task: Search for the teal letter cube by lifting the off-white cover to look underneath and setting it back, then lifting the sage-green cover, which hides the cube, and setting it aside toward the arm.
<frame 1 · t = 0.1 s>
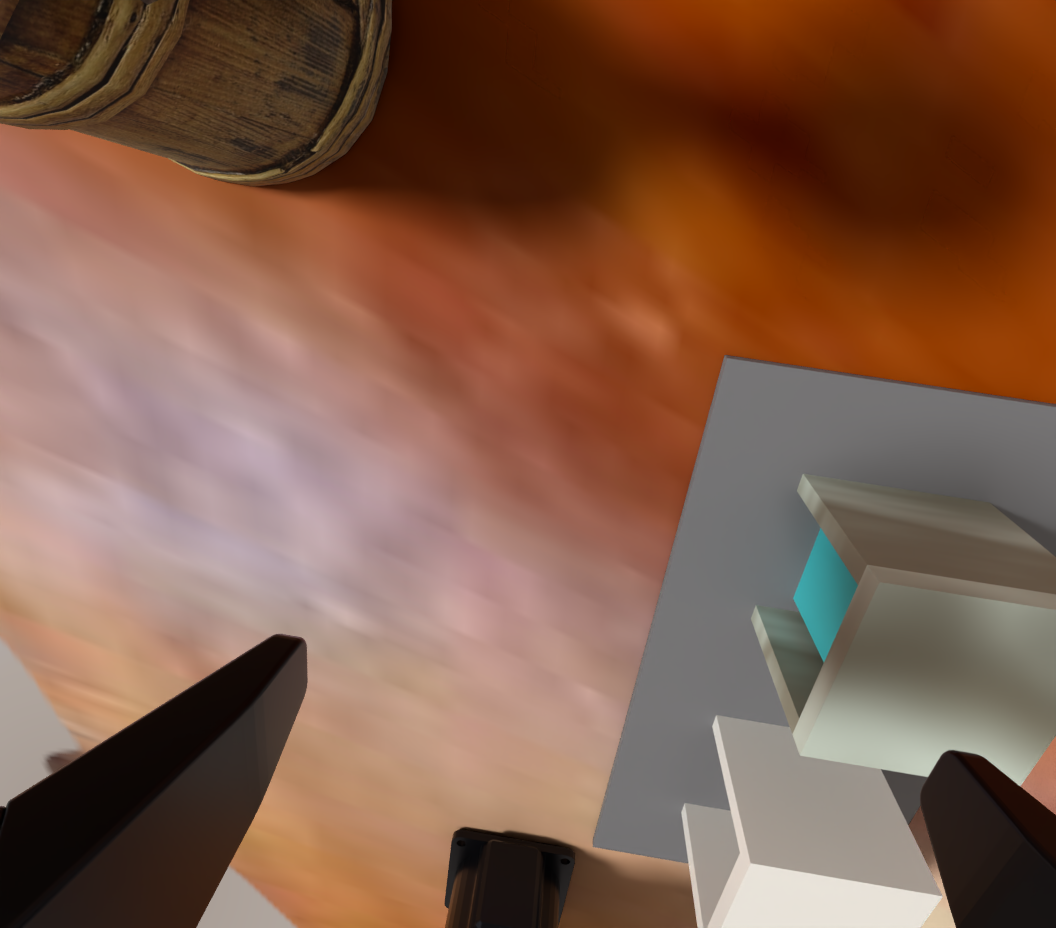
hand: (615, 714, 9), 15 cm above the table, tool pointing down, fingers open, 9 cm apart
cover a: (769, 778, 29), resting on mat
cube: (886, 598, 22), on the mat
mat: (808, 675, 26), on the table
cover b: (901, 620, 20), on the mat
wooden mug: (318, 17, 18), on the table
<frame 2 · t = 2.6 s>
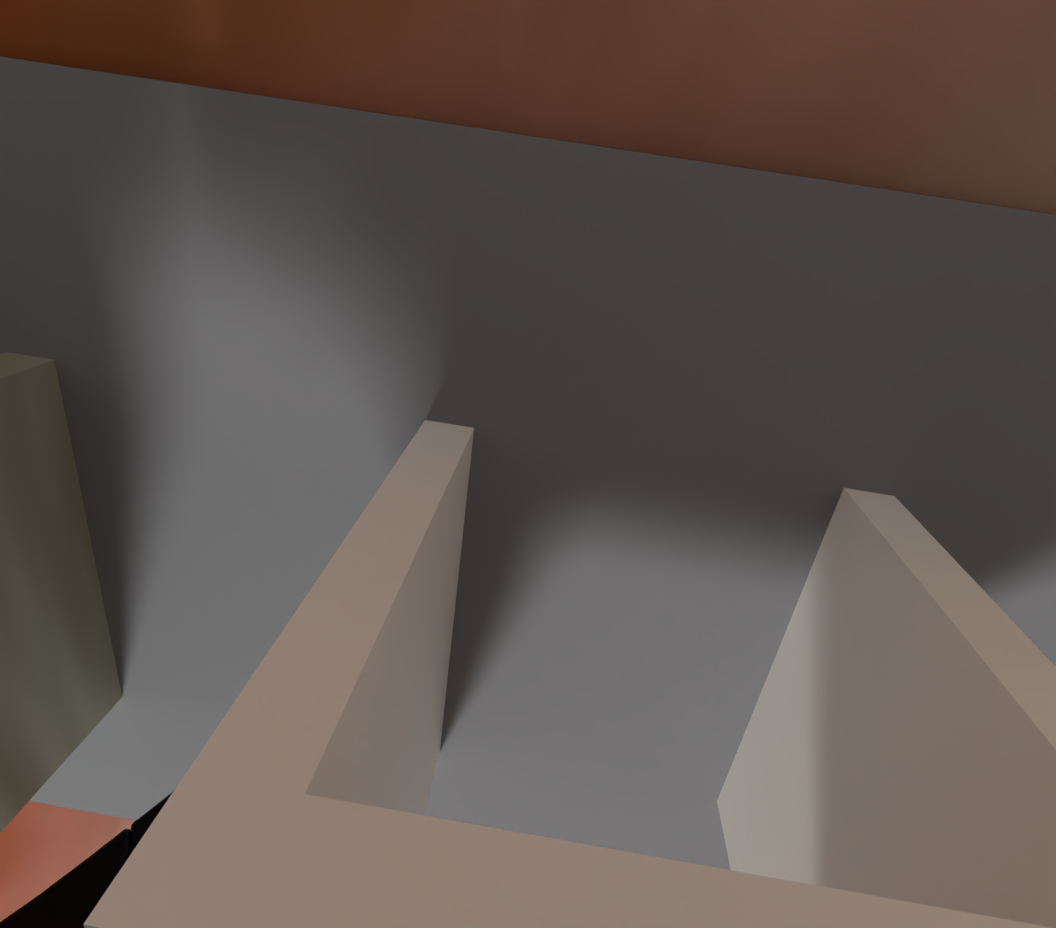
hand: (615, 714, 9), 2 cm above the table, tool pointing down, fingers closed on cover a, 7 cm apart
cover a: (611, 639, 10), resting on mat, touching gripper
mat: (263, 564, 11), on the table
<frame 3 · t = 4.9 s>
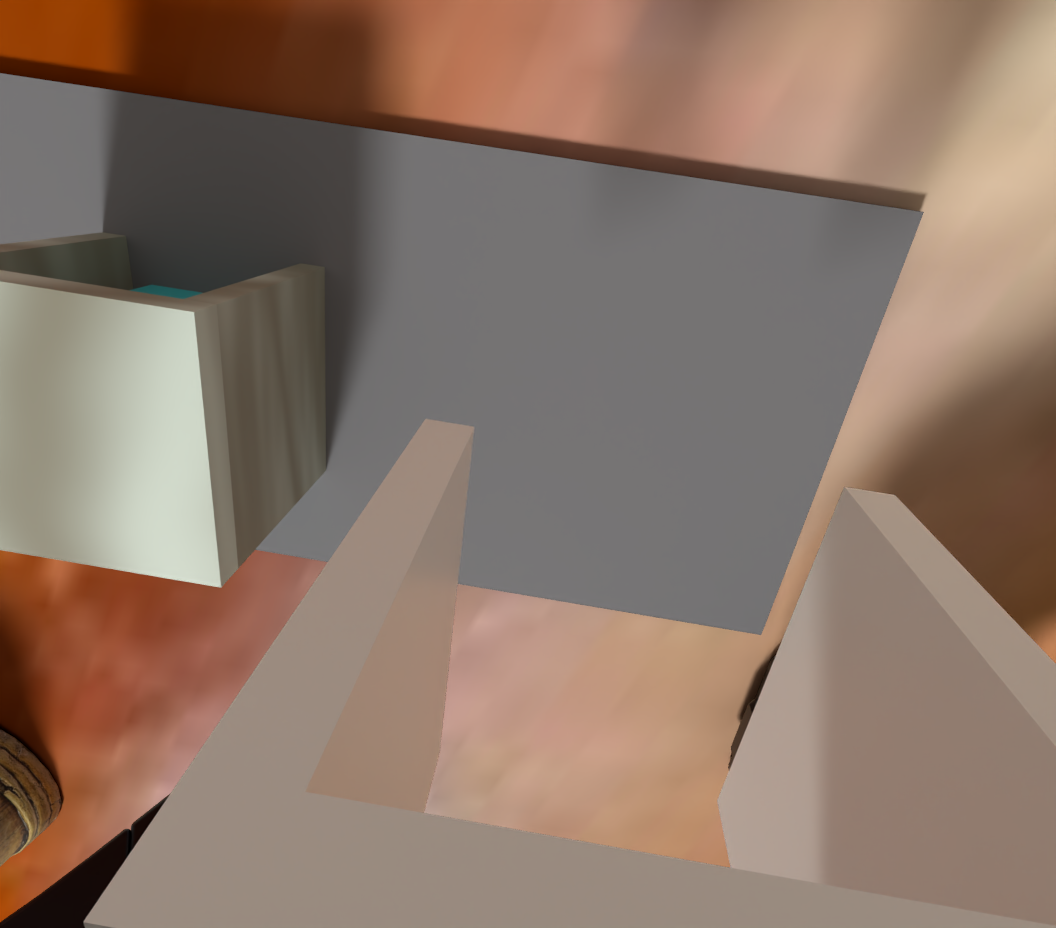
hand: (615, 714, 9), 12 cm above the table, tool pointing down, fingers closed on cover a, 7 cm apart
cover a: (612, 638, 10), point 10 cm above the table, touching gripper
cube: (181, 379, 17), on the mat
mat: (413, 385, 20), on the table
cover b: (156, 392, 16), on the mat
when the fingers open (3 cm above the table, at t = 7.1 s): cover a drops 1 cm, resting on mat.
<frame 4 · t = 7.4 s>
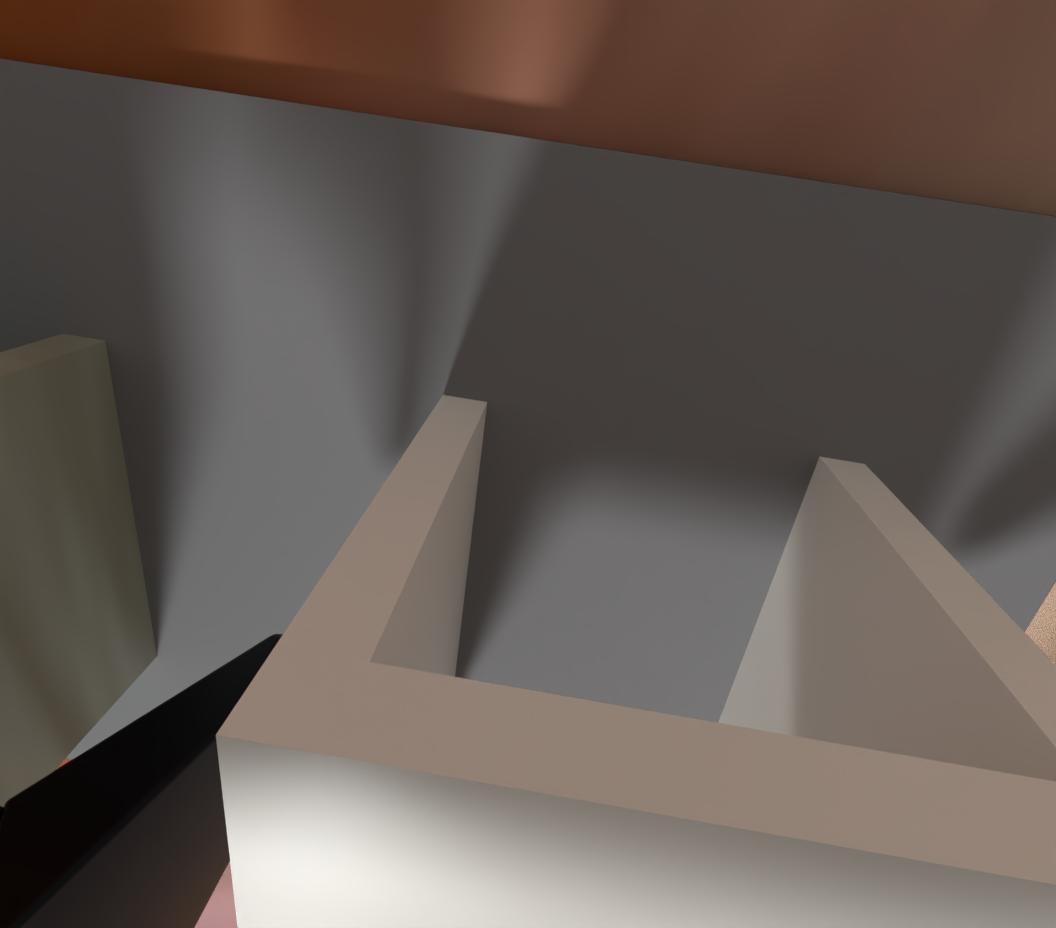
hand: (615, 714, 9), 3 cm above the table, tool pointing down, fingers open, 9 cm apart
cover a: (610, 598, 11), resting on mat
mat: (289, 531, 12), on the table
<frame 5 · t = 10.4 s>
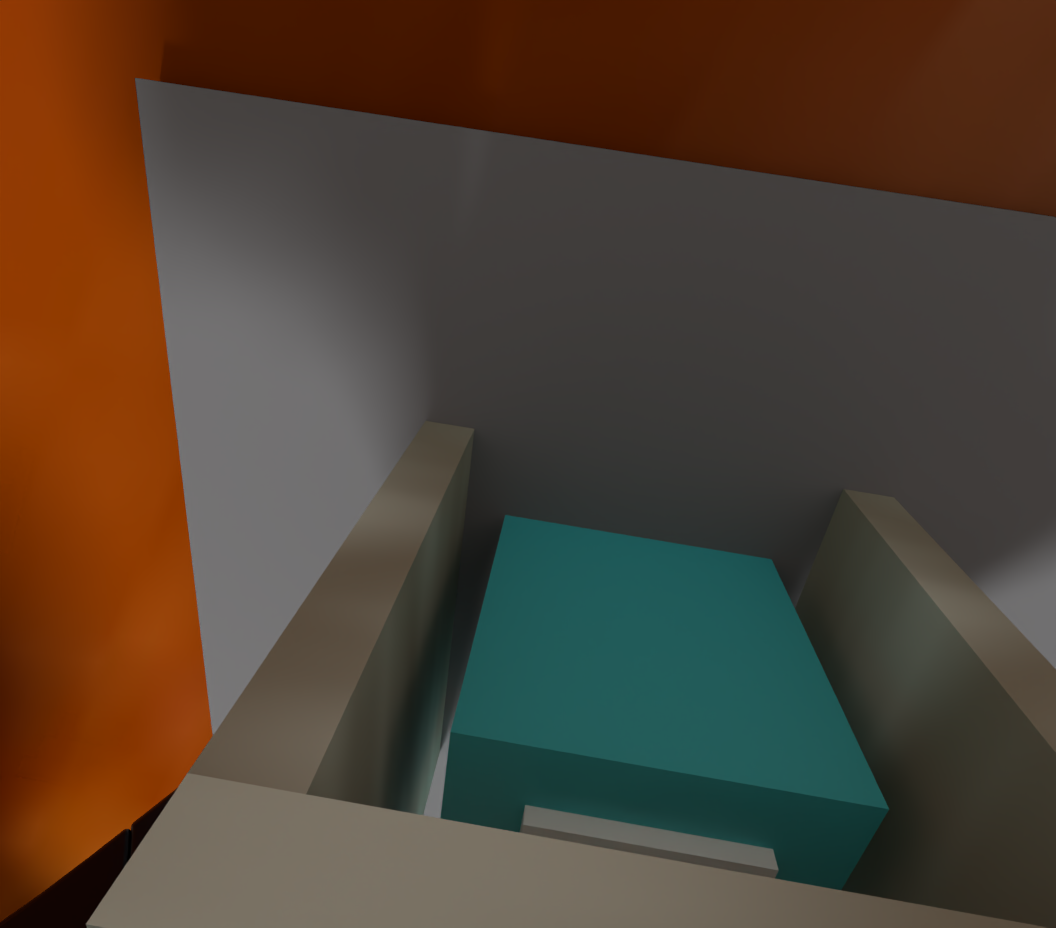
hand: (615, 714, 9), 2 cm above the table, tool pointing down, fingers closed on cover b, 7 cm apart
cube: (616, 748, 8), on the mat
mat: (968, 685, 10), on the table
cover b: (620, 831, 7), on the mat, touching gripper
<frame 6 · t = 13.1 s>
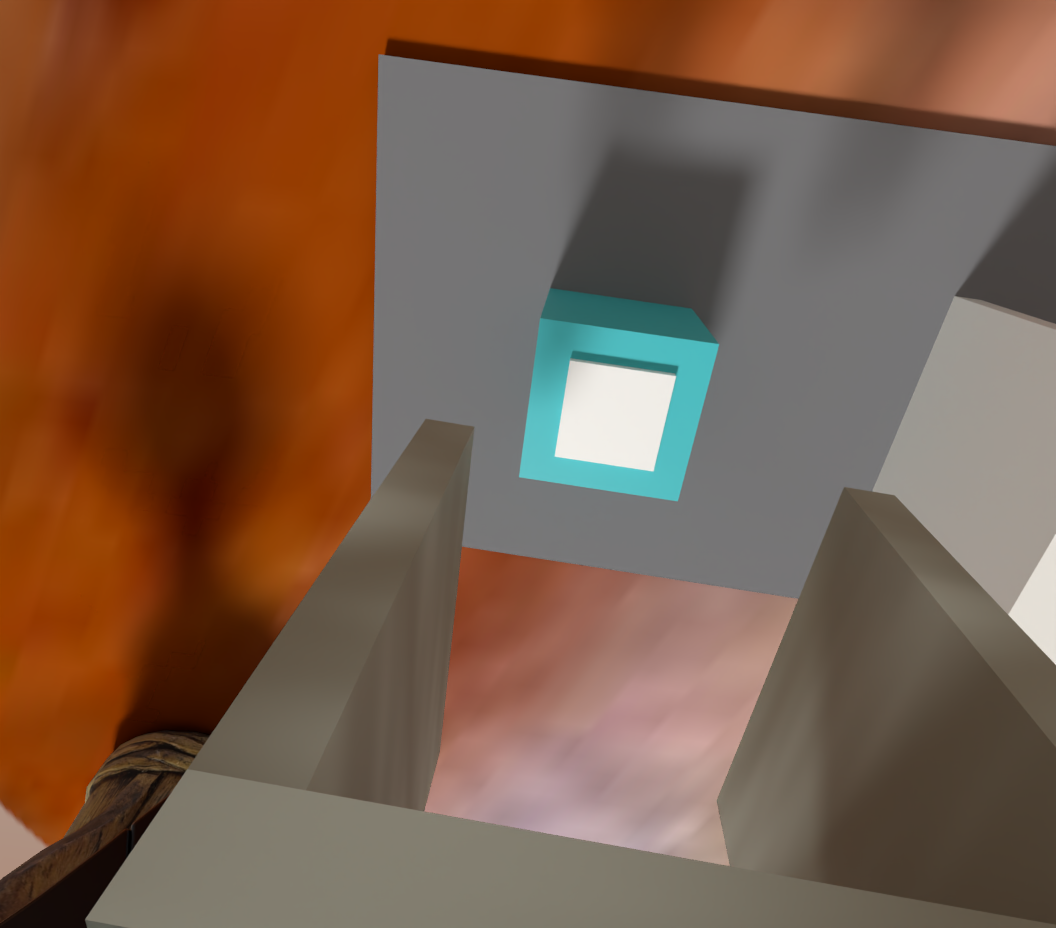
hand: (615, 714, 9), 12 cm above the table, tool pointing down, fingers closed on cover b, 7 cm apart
cover a: (1020, 428, 18), resting on mat
cube: (610, 389, 16), on the mat
mat: (807, 392, 18), on the table
cover b: (620, 829, 7), point 14 cm above the table, touching gripper
wooden mug: (198, 757, 28), on the table
when the fingers open (3 cm above the table, at t = 16.1 s): cover b drops 1 cm, on the table.
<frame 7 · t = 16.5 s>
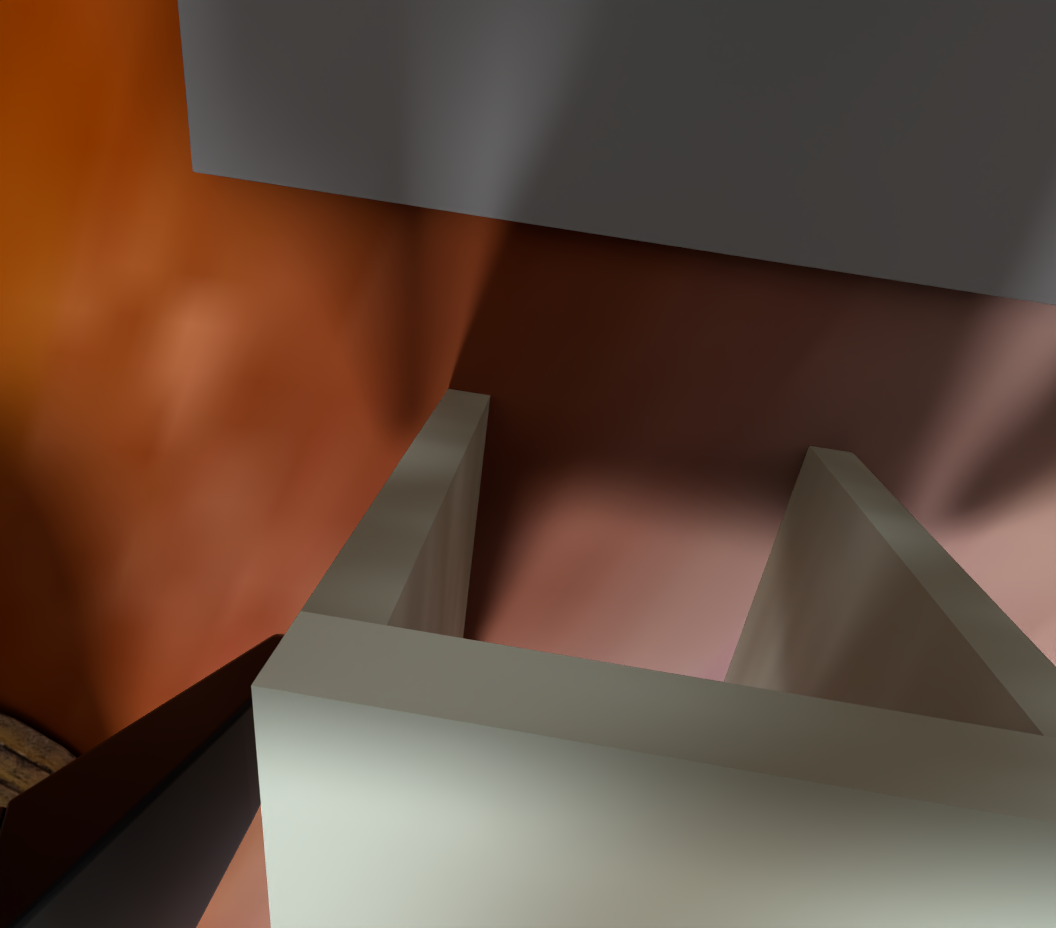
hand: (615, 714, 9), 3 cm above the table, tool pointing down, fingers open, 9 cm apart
cover b: (617, 726, 8), on the table
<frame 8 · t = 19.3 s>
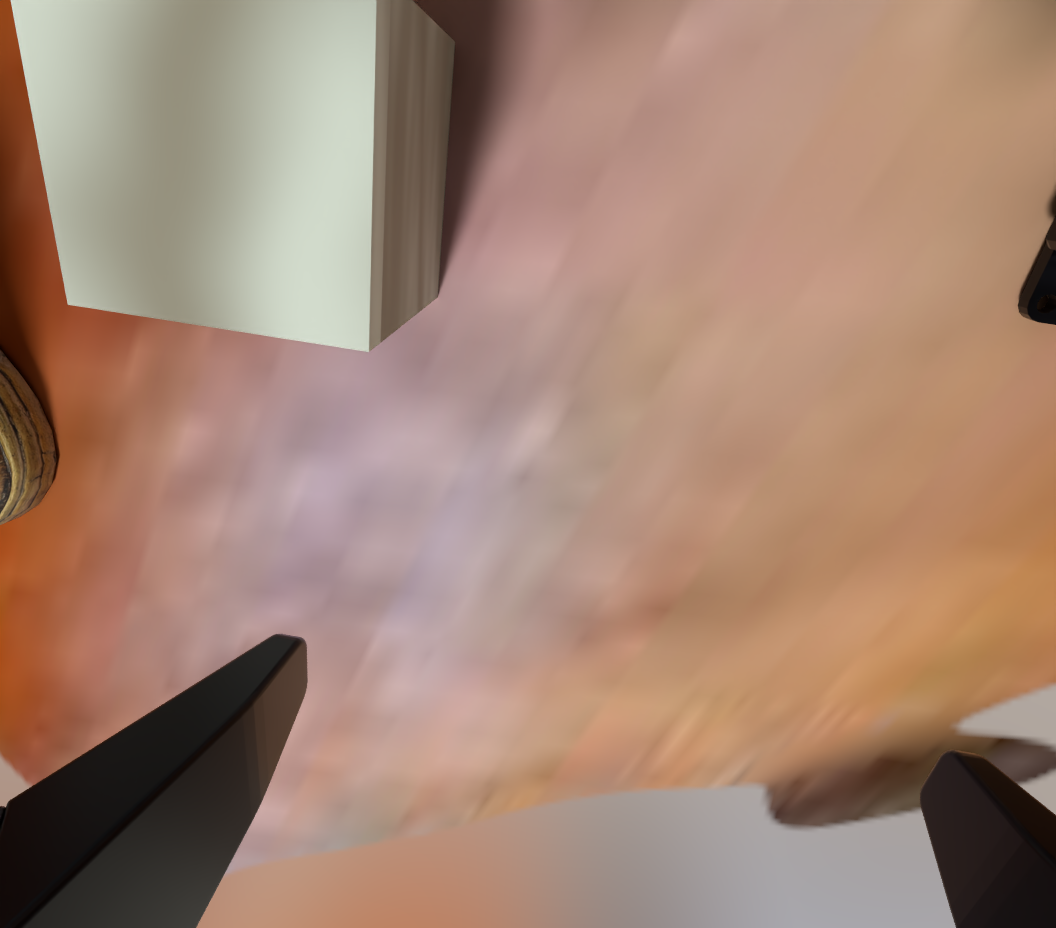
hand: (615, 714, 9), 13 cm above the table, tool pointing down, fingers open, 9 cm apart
cover b: (280, 160, 15), on the table
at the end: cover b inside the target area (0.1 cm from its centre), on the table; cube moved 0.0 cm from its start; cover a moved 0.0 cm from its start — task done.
